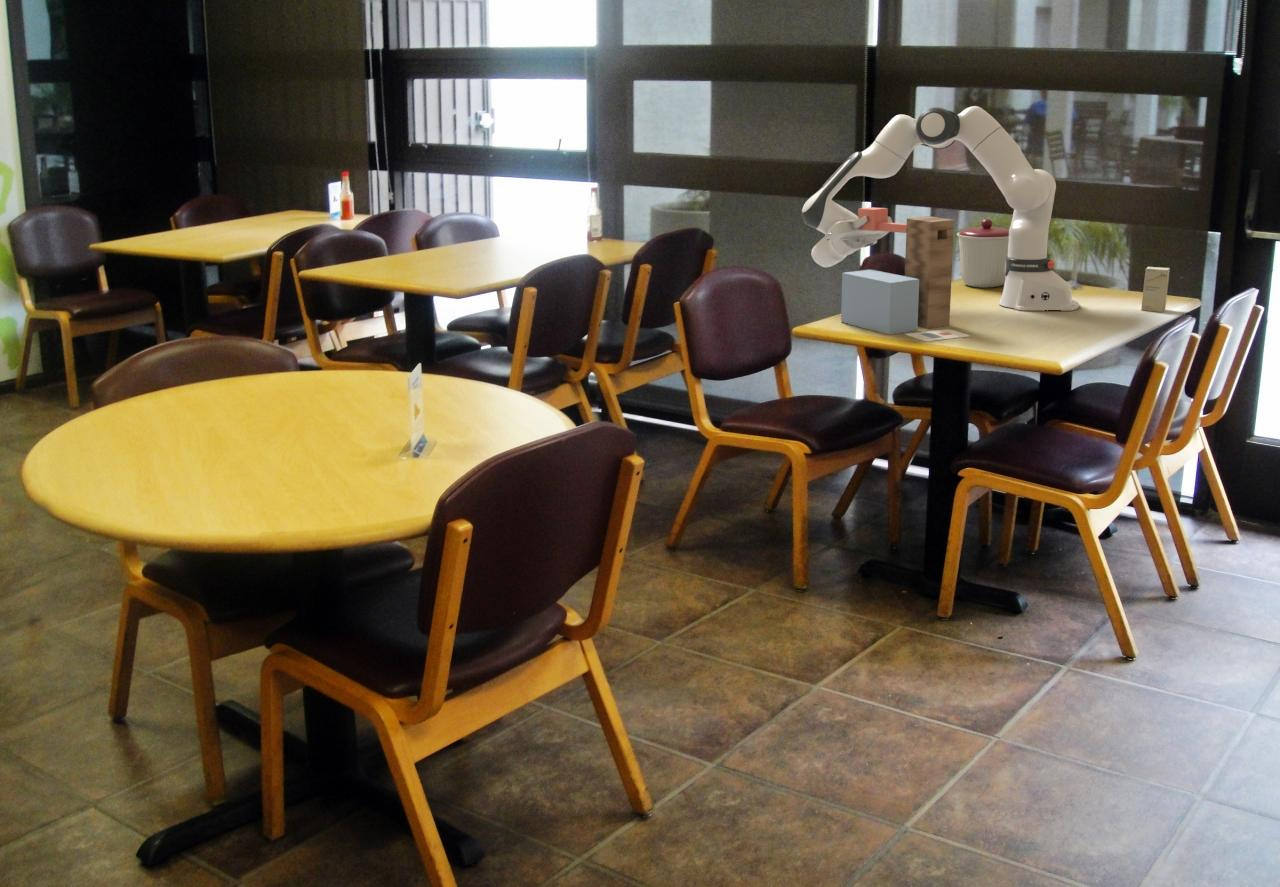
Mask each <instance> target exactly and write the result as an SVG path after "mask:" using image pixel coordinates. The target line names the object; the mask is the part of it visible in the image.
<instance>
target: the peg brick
mask: <svg viewBox="0 0 1280 887" xmlns="http://www.w3.org/2000/svg"><path fill="white" fill-rule="evenodd" d="M857 211H858V213H857V214H858V215H857V216H858V219H860V218H862V217H863V216H869V219H870V222H868V223H867V224H863V225H862V226H860V227H859V228H860V229H862V230H868V231H889V233H890V232H891V233H903V234H906V226H907V223H900V222H893V223H888V217H889V216H888V215H889V213H888V212H889V209H888V208H886V207H874V206H873V207H872V206H871V207H861V208H858V210H857Z"/></svg>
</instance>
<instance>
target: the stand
mask: <svg viewBox="0 0 1280 887" xmlns="http://www.w3.org/2000/svg"><path fill="white" fill-rule="evenodd" d="M906 224H907V226H906V233H905V254H904V256H905V258H904V276H906V277H911V278H916V279H919V300H918V326H917V328H923V329H926V328H927V329H928V328H929V329H934V328H941V327H940V326H942V327H948V326H950V319H951V297H952V296H951V294H952V277H953V274H952V273H953V256H954V255H953V252H954V235H955V234H954V233H955V232H954V230H955V229H954V228H955V219H950V218H944V217H936V216H929V215H928V216H916V217H910V218H909V217H908V218H906ZM947 325H948V326H947Z"/></svg>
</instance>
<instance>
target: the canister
mask: <svg viewBox="0 0 1280 887" xmlns="http://www.w3.org/2000/svg"><path fill="white" fill-rule="evenodd" d="M993 224H994V223H993V221H992V220H991V219H990V218H984V219H982V220H981V223H980V226H974V227H972V226H971V227H966V228H963V229H962V230H960V231H959V232H957V233H956V235H957V237H958V240H959V242H958V244H959V246H958V247H959V261H960V272H961V279H962V281H963V283H964V284H965V285H966V286H968V287H974V288H989V287H990V288H997V287H1001V286H1002V285H1004V284H1005V278H1006V276H1005V260H1006V257H1007V256H1008V240H1009V229H1010V228H1004V227H998V226H993Z"/></svg>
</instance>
